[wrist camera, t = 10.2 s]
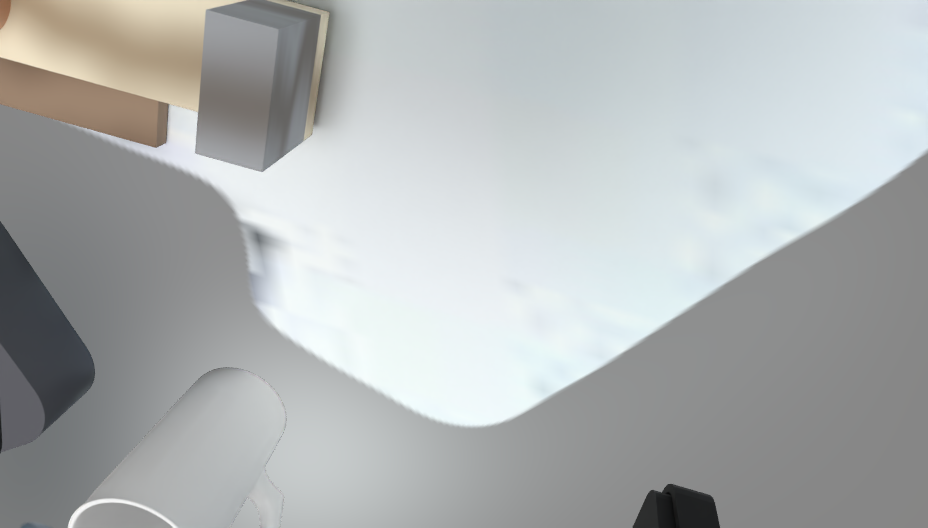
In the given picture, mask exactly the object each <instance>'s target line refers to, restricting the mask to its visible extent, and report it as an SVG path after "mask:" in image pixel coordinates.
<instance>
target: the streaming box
mask: <svg viewBox="0 0 928 528" xmlns="http://www.w3.org/2000/svg"><path fill="white" fill-rule="evenodd" d="M94 376H95V369H94V363H93V360H92V357H91V355H90V353H89V351H88V349H87V348H86V346H85V345H84V343H83V342H82V340H81V339H80V337H79V336H78V334H77V333H76V331H75V330H74V328H73V327H72V326H71V324H70V323H69V321H68V320H67V318H66V317H65V315H64V314H63V312H62V311H61V309H60V308H59V306H58V305H57V304H56V302H55V301H54V299H53V298H52V296H51V295H50V293H49V292H48V290H47V289H46V287H45V286H44V284H43V283H42V282H41V280H40V279H39V277H38V276H37V274H36V273H35V272H34V270H33V268H32V267H31V265H30V264H29V262H28V261H27V260H26V258H25V257H24V255H23V254H22V252H21V251H20V249H19V248H18V246H17V245H16V243H15V242H14V241H13V239H12V238H11V236H10V235H9V233H8V232H7V230H6V229H5V227H4V226H3V225H2V223H1V222H0V410H1V428H2V449H1V452H3V451H6V450H9V449H12V448H15V447H18V446H21V445H24V444H27V443H30V442H32V441H33V440H35V439H36V438H37V437H38V436H40V434H41V433H43V432H44V431H45V430H46V429H47V428H48V427H49V426H50V425H51V424H53V423H54V421H56V420H57V419H58V418H59V417H60V416H61V415H62V414H63V413H64V412H66V411H67V410H68V409H69V408H70V407H71V406H72V405H73V404H74V403H75V402H76V401H77V400H78V399H80V398H81V397H82V396H83V395H84V394H85V393H86V392H87V391H88V390H89V389H90V387H91V386H92V384H93V381H94Z"/></svg>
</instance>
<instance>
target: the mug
mask: <svg viewBox="0 0 928 528" xmlns="http://www.w3.org/2000/svg"><path fill="white" fill-rule="evenodd" d="M285 426H286V412H285V408H284V405H283V402H282V400H281V398H280V397H279V395H278V394H277V392H276V391H275V390H274V389H273V388H272V386H271V385H270V384H268V383H267V382H266V381H265V380H263V379H262V378H261V377H259V376H257V375H255V374H253V373H251V372H249V371H245V370H242V369H238V368H218V369H214V370H212V371H209V372H207V373H206V374H204V375H203V376H201V377H200V378H199V379H198V380H197V381H196V382H195V383H194V385H192V387H191V388H190V389H189V390H188V391H187V392H186V393H185V394H184V395H183V396H182V397H181V398H180V399H179V400H178V401H177V402H176V403H175V404H174V405H173V406H172V407H171V408H170V410H169V411H168V412H167V413H166V414H165V415H164V416H163V417H162V418H161V419H160V420H159V422H158V423H157V424H156V425H155V426H154V427H153V428H152V429H151V430H150V431H149V432H148V434H147V435H146V436H145V437H144V438H143V439H142V440H141V441H140V442H139V443H138V444H137V445H136V447H134V449H133V450H132V451H131V452H130V453H129V454H128V455H127V456H126V457H125V458H124V459H123V461H122V462H121V463H120V464H119V465H118V466H117V467H116V468H115V469H114V470H113V471H112V472H111V473H110V474H109V476H108V477H107V478H106V479H105V480H104V481H103V482H102V483H101V484H100V485H99V486H98V488H97V489H96V490H95V491H94V492H93V493H92V495H91V496H90V497H89V498H88V499H87V501H86V502H85V503H84V504H83V505H82V506H80V507H79V508H78V509H77V510H76V511H75V512H74V514H73V515H72V517H71V519H70V521H69V525H68V528H230V527H231V525H232V523H233V522H234V520H235V518H236V516H237V515H238V513H239V511H240V509H241V507H242V506H243V504H244V502H245V501H246V499H247V498H248V499H250V500H251V501H252V502H253V503H254V504H255V506H256V508H257V510H258V514H259V518H260V528H280V525H281V517H282V509H283V501H284V495H283V493H282V492H281V490H279V489H278V488H277V487H276V486H275V485H274V484H273V483H272V481H271V480H270V479H269V477H268V475H267V474H266V470H265V466H266V464H267V462H268V460H269V459H270V457H271V455H272V453H273V451H274V449H275V447H276V446H277V444H278V442H279V440H280V438H281V437H282V435H283V433H284V430H285Z"/></svg>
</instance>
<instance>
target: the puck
mask: <svg viewBox="0 0 928 528" xmlns="http://www.w3.org/2000/svg"><path fill="white" fill-rule="evenodd" d="M10 8H11V0H0V30H1V29H2V28H3V26H4V25H5V23H6V21H7V19H8V16H9V13H10Z"/></svg>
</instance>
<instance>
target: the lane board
mask: <svg viewBox="0 0 928 528" xmlns="http://www.w3.org/2000/svg"><path fill="white" fill-rule="evenodd" d="M0 104H2V105H5V106H9V107H12V108H16V109H19V110H23V111H26V112H30V113H34V114H37V115H41V116H44V117H48V118H51V119H55V120H59V121H62V122H66V123H69V124H73V125H76V126H80V127H84V128H87V129H91V130H94V131H98V132H102V133H105V134H109V135H112V136H116V137H119V138H123V139H127V140H130V141H134V142H137V143H141V144H144V145H148V146H152V147H155V148H157V147H159V146H161V145H163V144H164V143H166V134H167V116H168V103H164V102H160V101H157V100H153V99H149V98H146V97H142V96H139V95H135V94H131V93H128V92H124V91H121V90H117V89H113V88H110V87H106V86H102V85H99V84H95V83H92V82H88V81H84V80H81V79H77V78H74V77H70V76H66V75H63V74H59V73H55V72H52V71H48V70H45V69H41V68H37V67H34V66H30V65H27V64H23V63H19V62H16V61H12V60H9V59H5V58H1V57H0Z"/></svg>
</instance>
